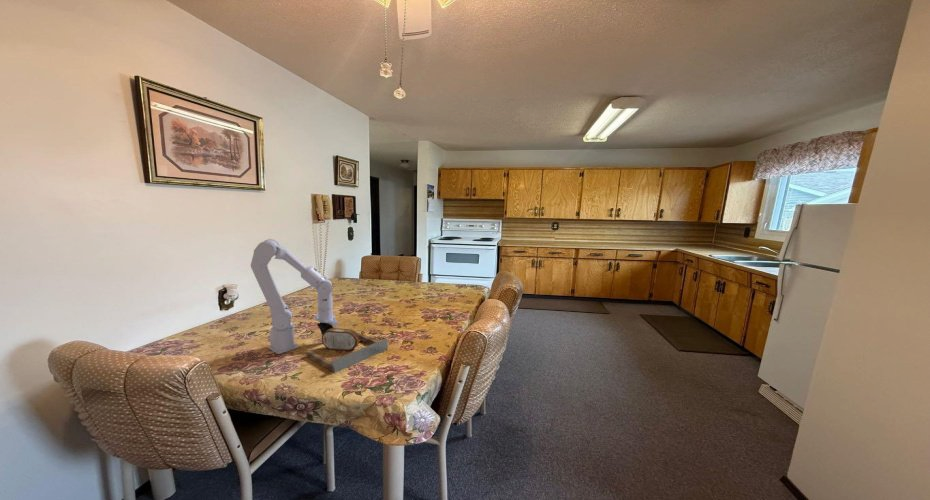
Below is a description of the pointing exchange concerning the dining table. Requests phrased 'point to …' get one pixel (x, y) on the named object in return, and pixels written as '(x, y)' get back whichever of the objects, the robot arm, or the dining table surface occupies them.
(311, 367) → the dining table surface
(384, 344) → the grey u-shaped bracket
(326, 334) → the tin
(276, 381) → the dining table surface
